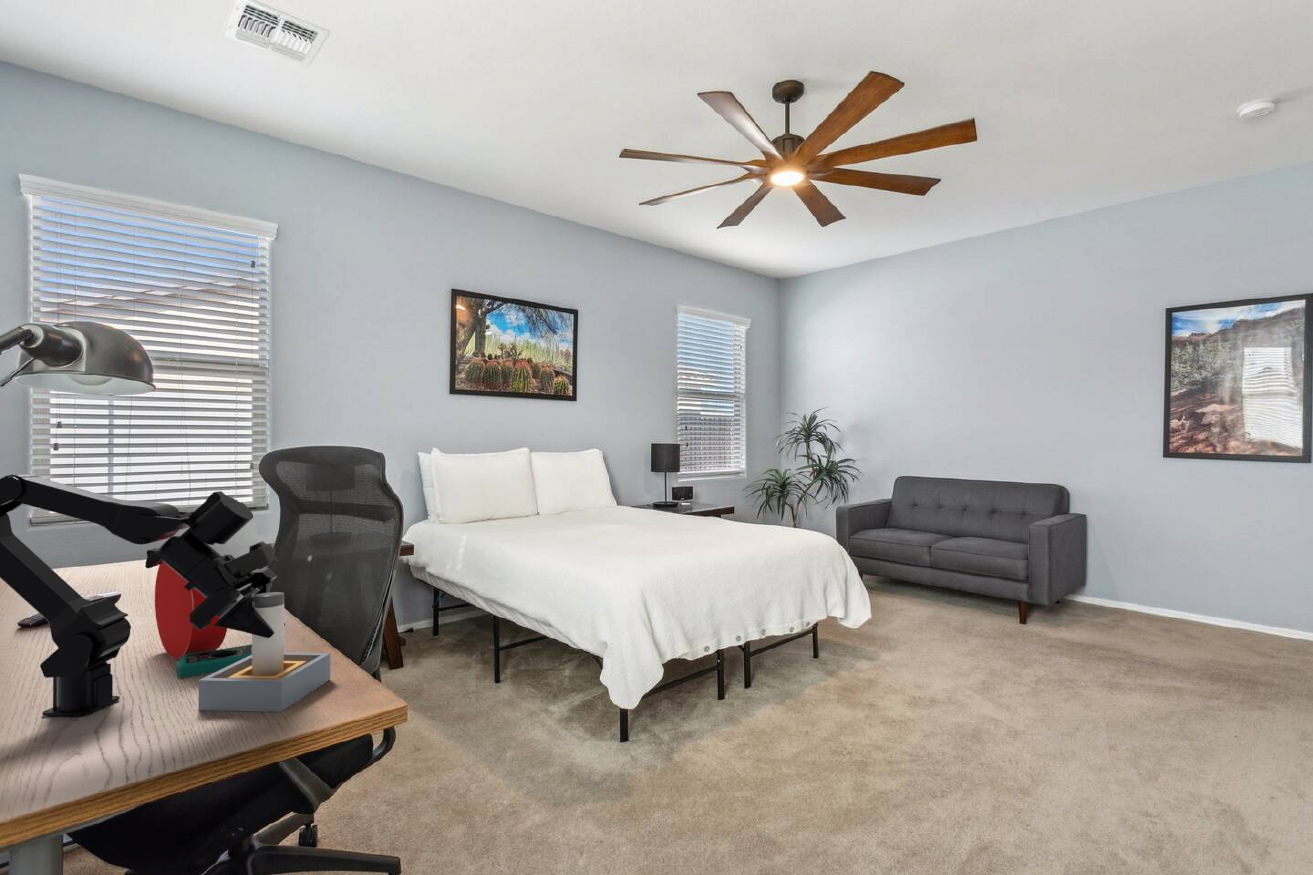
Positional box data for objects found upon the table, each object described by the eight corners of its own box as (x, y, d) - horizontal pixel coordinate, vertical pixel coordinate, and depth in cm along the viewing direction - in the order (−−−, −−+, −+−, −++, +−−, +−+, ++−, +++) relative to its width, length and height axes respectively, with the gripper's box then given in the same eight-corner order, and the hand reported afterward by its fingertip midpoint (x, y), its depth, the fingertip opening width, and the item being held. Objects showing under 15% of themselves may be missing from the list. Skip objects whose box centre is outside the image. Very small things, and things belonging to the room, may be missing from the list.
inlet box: (198, 710, 97) (198, 680, 97) (256, 678, 110) (256, 652, 110) (281, 711, 96) (281, 681, 96) (330, 679, 109) (330, 653, 109)
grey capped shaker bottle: (250, 679, 100) (251, 599, 100) (253, 670, 104) (253, 593, 104) (283, 674, 102) (283, 596, 102) (284, 666, 106) (284, 590, 106)
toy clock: (229, 659, 119) (230, 552, 119) (192, 668, 114) (193, 557, 115) (189, 640, 131) (189, 543, 131) (154, 648, 126) (154, 547, 126)
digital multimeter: (178, 669, 116) (178, 653, 116) (274, 654, 124) (274, 638, 124) (175, 682, 109) (175, 664, 109) (276, 665, 118) (276, 649, 118)
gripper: (214, 536, 93) (296, 608, 95) (264, 521, 111) (332, 582, 113) (151, 593, 91) (237, 665, 93) (213, 568, 110) (283, 629, 112)
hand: (277, 631), depth 103 cm, fingers closed on grey capped shaker bottle, 4 cm apart
